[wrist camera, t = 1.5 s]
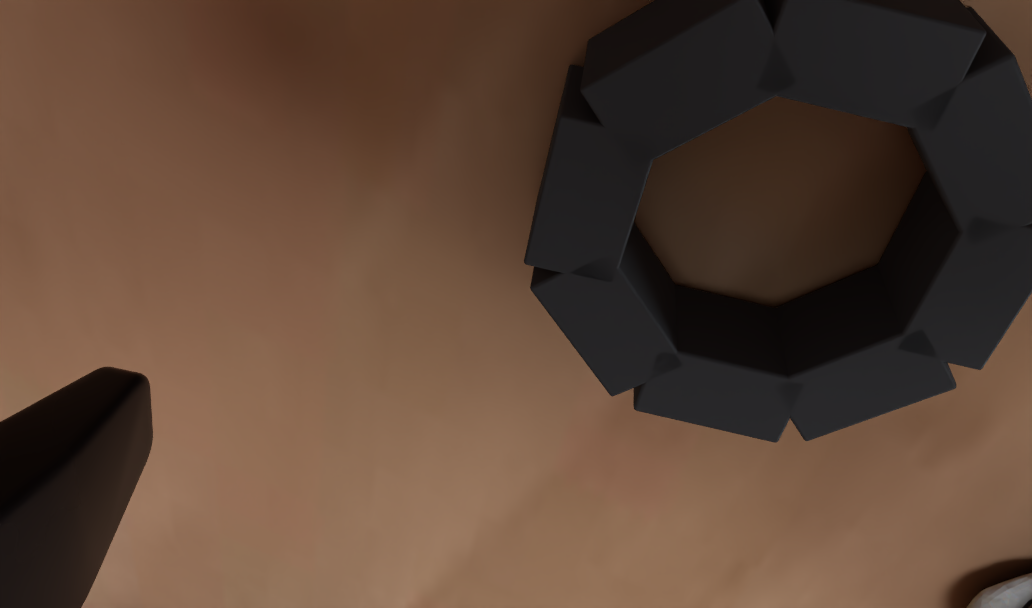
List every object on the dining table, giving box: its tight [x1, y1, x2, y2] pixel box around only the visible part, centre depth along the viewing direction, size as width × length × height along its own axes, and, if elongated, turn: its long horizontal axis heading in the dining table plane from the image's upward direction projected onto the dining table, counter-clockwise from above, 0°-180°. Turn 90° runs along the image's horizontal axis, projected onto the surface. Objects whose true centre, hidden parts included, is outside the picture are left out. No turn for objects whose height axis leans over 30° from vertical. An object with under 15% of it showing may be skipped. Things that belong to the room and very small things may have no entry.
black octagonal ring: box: [524, 0, 1032, 442], centre depth 18 cm, size 9×9×2 cm
